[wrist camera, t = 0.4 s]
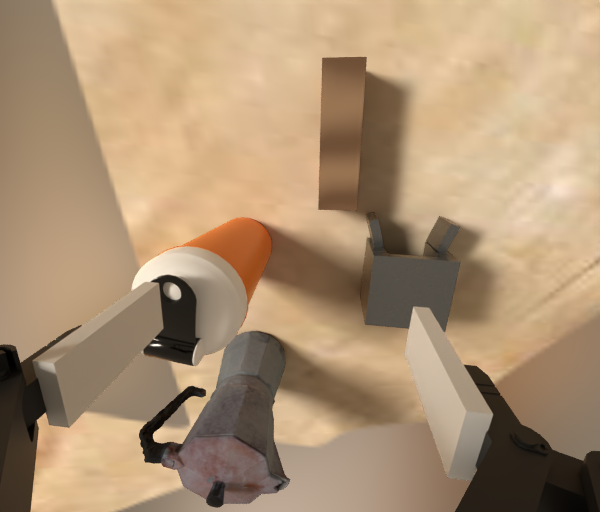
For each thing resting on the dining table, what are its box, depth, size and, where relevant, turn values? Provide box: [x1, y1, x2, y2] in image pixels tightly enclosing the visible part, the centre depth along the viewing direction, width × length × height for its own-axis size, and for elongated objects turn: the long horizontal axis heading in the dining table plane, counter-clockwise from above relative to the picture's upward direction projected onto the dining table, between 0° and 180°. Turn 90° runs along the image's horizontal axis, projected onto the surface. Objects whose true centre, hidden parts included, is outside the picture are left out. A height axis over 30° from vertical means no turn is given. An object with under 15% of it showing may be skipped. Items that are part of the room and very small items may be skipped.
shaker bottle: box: [132, 218, 272, 366], centre depth 31 cm, size 9×9×20 cm
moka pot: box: [139, 331, 290, 507], centre depth 37 cm, size 10×15×20 cm, turn 78°
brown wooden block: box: [318, 57, 367, 210], centre depth 33 cm, size 14×4×5 cm, turn 0°
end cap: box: [360, 212, 460, 332], centre depth 36 cm, size 11×10×7 cm
